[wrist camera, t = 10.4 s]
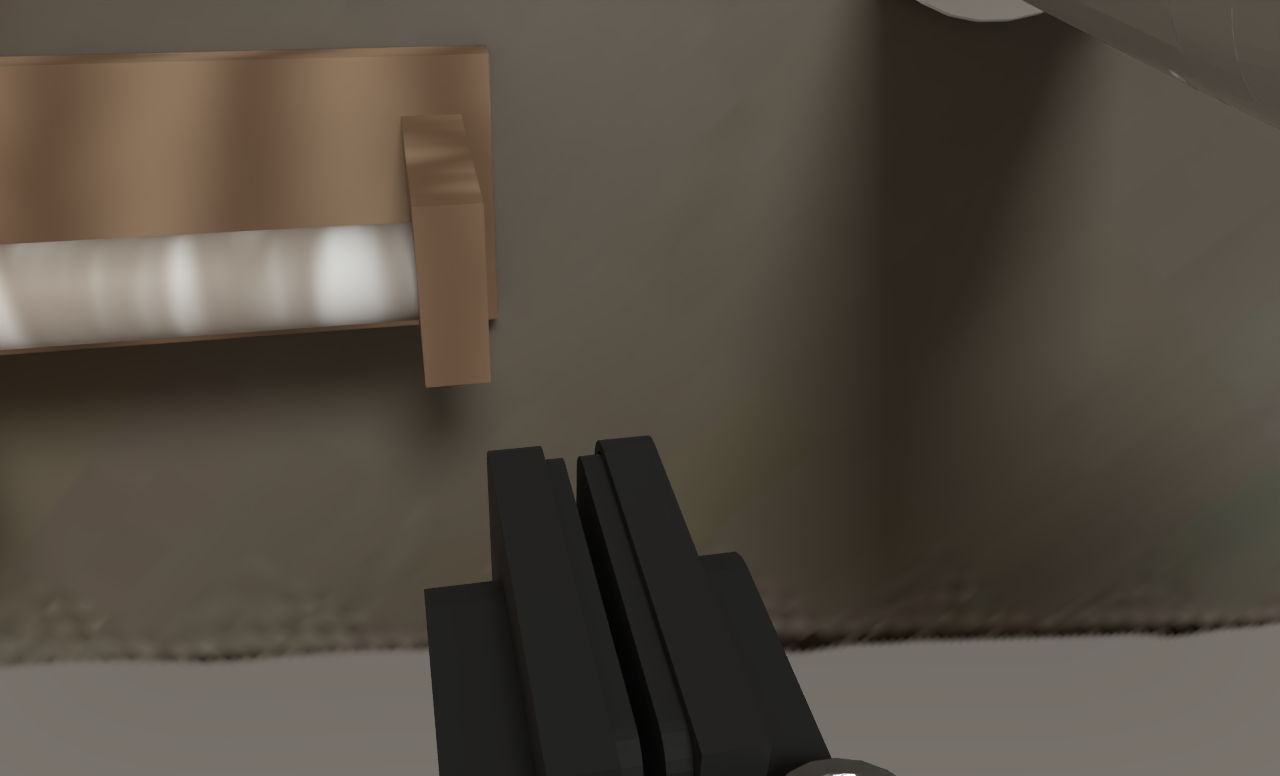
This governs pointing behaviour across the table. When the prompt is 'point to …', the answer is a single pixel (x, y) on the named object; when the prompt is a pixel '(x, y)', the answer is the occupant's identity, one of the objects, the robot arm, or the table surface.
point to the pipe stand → (249, 199)
